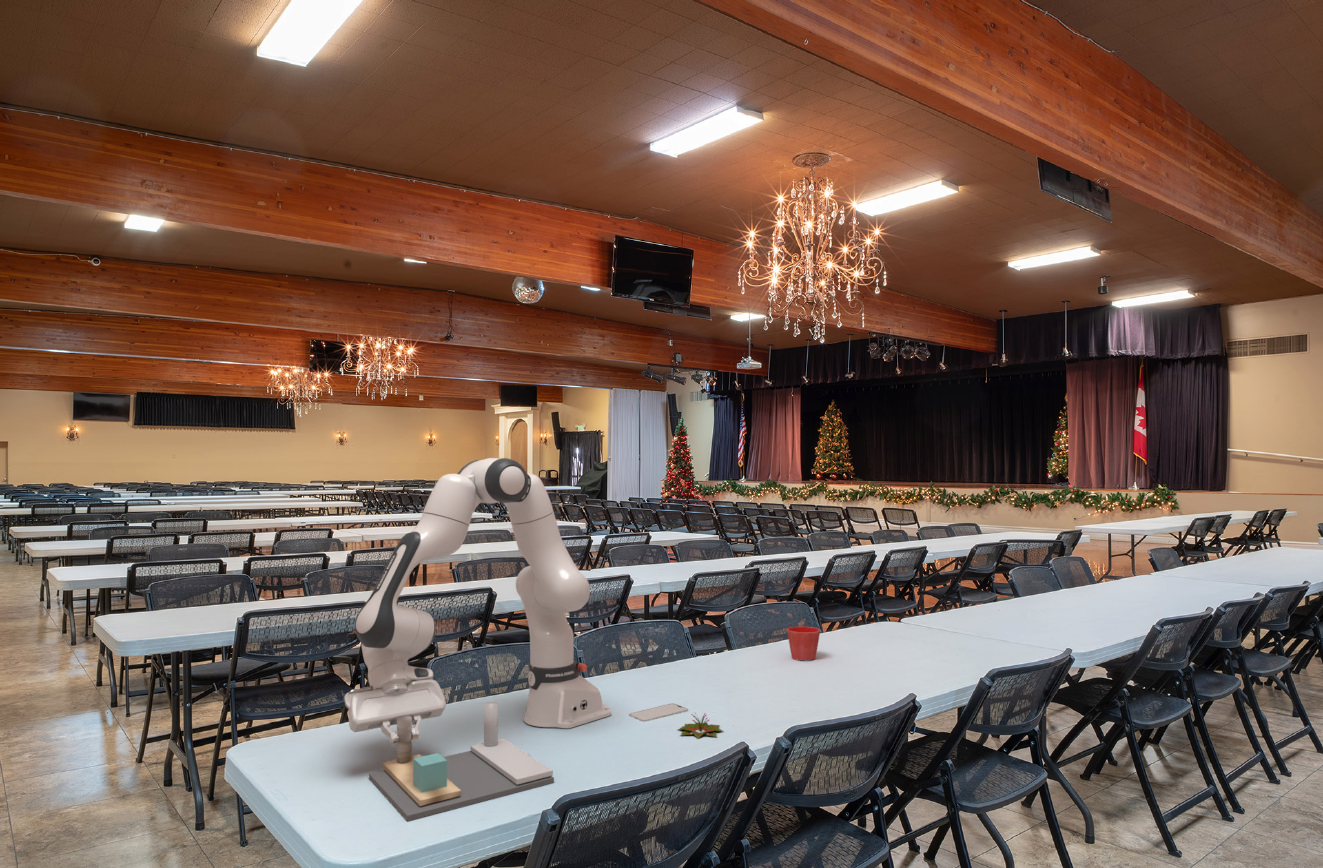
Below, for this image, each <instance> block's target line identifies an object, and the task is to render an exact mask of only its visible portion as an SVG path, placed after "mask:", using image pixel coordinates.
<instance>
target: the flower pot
mask: <svg viewBox="0 0 1323 868" xmlns="http://www.w3.org/2000/svg"><path fill="white" fill-rule="evenodd" d="M786 632H787V638H788V645H789V650H790V654H791V658H792V660H795V659H798V660H797V661H800V660H805V661H804V662H807V661H806V660H811V661H814V660H815V659H816V658H817V657H816V656H817V652H818V647H819V641H820V634H821V630H820V629H819V628H817V627H813V626H812V627H811V626H791V627H788V628H787V629H786ZM813 659H814V660H813Z"/></svg>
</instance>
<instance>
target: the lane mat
mask: <svg viewBox="0 0 1323 868" xmlns="http://www.w3.org/2000/svg"><path fill="white" fill-rule="evenodd" d="M443 757H444V758H445V759H446V760H447V779H449V780H450V781H451V782H452V783H453V784H454V785H455V786H457V787H458V788H459V789H460V790H461V796H458V797H454V798H450V799H446V800H442V801H438V802H434V803H430V804H426V805H423V806H419V805H418V804H417V803H416V802H415V800H414V799H413V798H412V797H411V796H410V795H409V794H408V793H407V792H406V791H405V790H404V789H403V788H402V787H401V786H400V785H399V784H398V783H397V782H396V781H395V780H394V779H393V778H392V777H391V776H390V775H389V774H388V773H387V772H386V771H385V770H384V769H383V770H378V771H374V772H370V773H368V779H369V780H370V781H371V782H372V784H373V785H374V786H375V787H376V788H377V790H378V791H380V792H381V794H382V795H383V796H384V797H385V798H386V800H388V802H390V804H391V805H392V806H393V807H394V809H396V811H397V812H399V814H400V815H401V816H402V817H403V818H404V820H406V822H411V821H414V820H418V819H417V818H419V819H422V818H425V817H424V816H426V817H429V815H430V816H433V815H432V814H434V815H437V814H440V812H441V813H445V812H448V810H449V811H452V810H451V809H453V810H456V809H460V808H463V807H467V806H471V805H475V804H479V803H482V802H486V801H490V800H494V799H497V798H501V797H505V796H509V795H512V794H517V793H520V792H524V791H527V790H531V789H535V788H539V787H543V786H547V785H550V784H554V783H555V778H554V777H553V776H549V777H545V778H541V779H537V780H533V781H529V782H526V783H522V784H518V785H517V784H515V783H514V782H513V781H511V780H510V779H509V778H507V777H506V776H504V775H503V774H502V773H500V772H499V771H498V770H496V769H495V768H494V767H492V766H491V765H490V764H488V763H487V762H486V761H484V760H483V759H482V758H480V757H479V756H478V755H476V754H475V753H473V752H472V751H471V750H467V751H463V752H460V753H459V752H458V753H455V754H451V755H446V756H443Z"/></svg>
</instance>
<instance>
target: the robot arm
mask: <svg viewBox="0 0 1323 868" xmlns="http://www.w3.org/2000/svg"><path fill="white" fill-rule="evenodd" d="M547 491H548V490H546V487H545V485H544V483H543V481H542V480H541V478H540V477H539V476H538V475H535V474H533V473H527V471H526V468H524V466H523V465H522V464H520V462H518V461H516V460H514V459H511V458H506V457H505V458H502V457H501V458H500V457H499V458H498V457H488V458H484V459H476V460H472V461H469V462H468V463H465V465H463V466H462V467H461V469H460V470H459V471H458V472H457V473H446V474H444V475H442V476H441V477H440V478H439V479H438V480H437V481H436V484H435V485H434V486H433V489H432V490H431V493H430V495H429V497H428V499H427V501H426V504H425V506H424V509H423V513H422V515H421V516H420V519H419V520H418V523H417V525H416V526H415V527H414V529H412V531H410V532H408V533H406V534H404V535H403V536H402V537H401V539H400V540H399V542H398V543H397V545H396V546H395V548H394V550H393V552H392V554H391V556H390V557H389V558H388V561H387V563H386V565H385V567H384V568H383V571H382V572H381V575H380V577H379V579H378V580H377V583H376V585H375V587H374V589H373V591H372V592H371V594H370V595H369V598H368V599H367V601H366V602H365V603H364V605H363V606H362V607H361V609H360V610H359V612H358V614H357V616H356V617H355V621H354V630H355V634H356V637H357V638H358V640H359V642H360V644H361V651H362V656H363V661H364V664H365V666H366V667H367V671H368V672H367V678H368V683H369V684H368V685H369V686H366V687H365V686H364V687H361V688H354V689H350V690H349V691H348V692H346V693H345V695H344V697H343V701H344V705H345V707H346V709H348V726H349V730H351V731H352V732H353V733H359V732H364V731H369V730H374V729H380V730H381V732H382V733H383V734H384V735H385V737H387V738H388V741H389V745H393V744H397V743H398V741H399V737H398V733H397V731H393V730H392V729H391V728H390V726H395V725H396V726H397V718H398V717H402V716H411V717H412V726H414V728H413V727H412V740H417V739H419V738H420V731H419V727H420V723H421V720H425V719H432V718H437V717H440V716H442V715H443V713H444V711H445V709H446V706H447V702H446V698H445V695H444V693H443V691H442V688H441V687H440V684H439V683H438V681H437V680H435V679H433V678H434V672H433V670H432V669H431V668H426V667H418V666H412V665H409V663H408V661H409V659H413V658H415V657H417V656H418V655H420V654H421V653H423V652H424V651H425V650H426V649H428V648H429V647H430V645H431V644H433V642H434V639H435V637H436V628H437V627H436V622H435V619H434V617H433V615H432V614H431V613H429V612H427V611H425V610H421V609H417V608H414V607H407V606H404V605H399V604H398V600H399V597H400V595H401V593H402V591H403V589H404V588H405V585H406V583H407V581H408V579H409V578H410V576H411V573H412V571H413V570H414V568H416V567H417V566H418V565H420V564H421V563H423V562H425V561H430V560H436V559H441V558H442V559H443V558H446V557H448V556H450V555H451V556H452V555H453V554H454V553H456V552H457V551H458V550H460V548H461V547H462V545H463V544H464V541H465V540H466V536H467V534H468V531H469V527H470V524H471V521H472V517H473V514H474V512H475V510H476V509H477V507H478V506H479V505H480V504H481V503H482V504H491V505H493V504H496V503H497V504H498V503H503V505H504V506H505V508H506V510H507V512H508V516H509V517H508V518H509V520H510V525H511V527H512V531H513V534H514V538H515V542H516V546H517V548H518V551H519V553H520V555H521V556H522V557H523V558H524V559H525V561H526V562H527V564H528V566H525V567H523V569H521V570H520V571H519V573H518V574H517V576H516V580H515V590H516V593H517V595H518V596H519V598H520V599H521V601H522V603H523V605H522V606H523V609H524V611H525V616H526V617H525V618H526V620H527V626H528V631H529V649H530V650H529V651H530V652H529V653H530V654H529V659H530V660H529V661H530V663H528V671H527V672H528V673H527V674H528V675H527V676H528V677H527V678H528V681H527V682H528V688H529V689H528V699H527V704H526V708H525V709H526V710H525V714H524V717H523V721H524V723H526V724H527V725H530V726H534V727H538V728H539V727H540V728H541V727H542V728H559V729H572V728H574V727H577V726H581V725H585V724H587V723H591V722H594V721H597V720H600V719H603V718H607V717H610V716H611V715H612V711H611V708H610V707H609V706H607V705H606V704H604V703H603V699H602V694H601V692H600V690H599V689H598V687H597V686H596V685H594V684H592V683H591V682H590V681H588V679H586V678H584V677H583V676H582V675H581V674H580V672H582V673H585V672H587V670H588V669H587V668H588V665H587V664H585V663H583V662H577V661H575V660H574V658H575V657H574V654H575V653H574V631H573V628H572V626H571V625H570V624H569V621H568V620H567V619H568V618H567V616H566V615H567V614H566V613H569V612H576V611H579V610H581V609H582V608H583V607H584V606H585V605H586V604H587V603H588V601H589V599H590V595H591V586H590V584H589V580H588V579H587V578H586V577H585V575H583V573H581V571H580V570H579V569H578V567H577V566H576V564H575V562H574V559H572V557H571V555H570V554H569V552H568V549H567V547H566V545H565V543H564V541H563V538H562V536H561V533H560V529H559V526H558V522H557V519H556V515H555V512H554V509H553V505H552V502H551V499H550V497H549V494H548V492H547Z"/></svg>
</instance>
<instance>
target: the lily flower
mask: <svg viewBox="0 0 1323 868" xmlns="http://www.w3.org/2000/svg"><path fill="white" fill-rule="evenodd" d="M694 714H695V715H694ZM694 714H692V713H691V716H693V718H695V719H692V721H693V723H684V725H683V726H681V727H680V728H677V729H676V731H678V730H679V731H680V730H684V731H682V732H681V733H680V735H679V736H691V735H692V736H695V737H696V738H697V739H699V738H700V737H702V736H708V737H715V738H717V732H716V731H718V732H723V730H722V729H720V728H719V727H720V724H709V723H708V722H709V721H710V719H708V717H707V716H708V714H706V713H704V714H703V715H702V718H701V719H700V717H699V716H698V715H697V713H696V712H694ZM698 731H699V732H698ZM707 733H708V734H707Z"/></svg>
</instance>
